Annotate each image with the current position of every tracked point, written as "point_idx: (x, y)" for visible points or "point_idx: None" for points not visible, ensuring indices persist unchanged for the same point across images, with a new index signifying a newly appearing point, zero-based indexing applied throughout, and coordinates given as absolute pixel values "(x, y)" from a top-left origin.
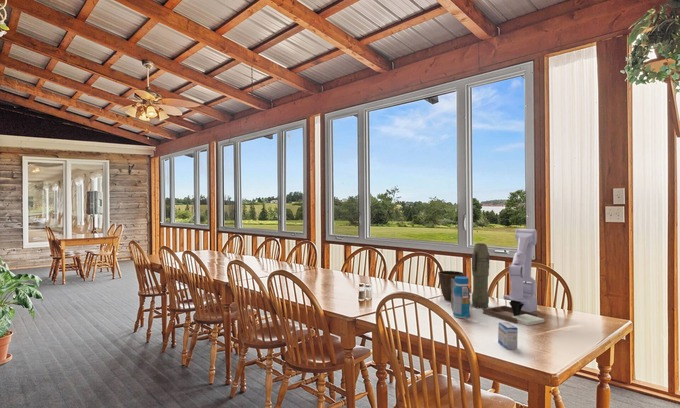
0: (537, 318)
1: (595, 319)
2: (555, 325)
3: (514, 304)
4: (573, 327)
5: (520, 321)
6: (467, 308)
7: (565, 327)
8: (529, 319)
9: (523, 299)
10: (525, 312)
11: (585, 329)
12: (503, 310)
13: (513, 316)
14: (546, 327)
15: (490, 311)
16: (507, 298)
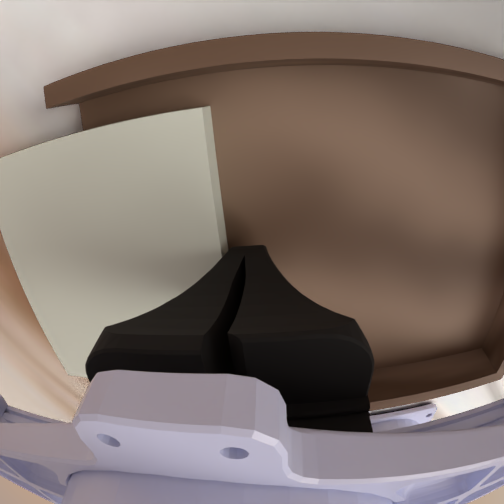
0: (82, 352)
1: None
2: (53, 369)
3: (167, 330)
4: (30, 396)
5: (48, 141)
6: None
7: (24, 373)
8: (53, 265)
9: (56, 495)
10: None
11: (11, 401)
12: (485, 333)
13: (202, 184)
14: (10, 291)
15: (500, 59)
16: (482, 426)
